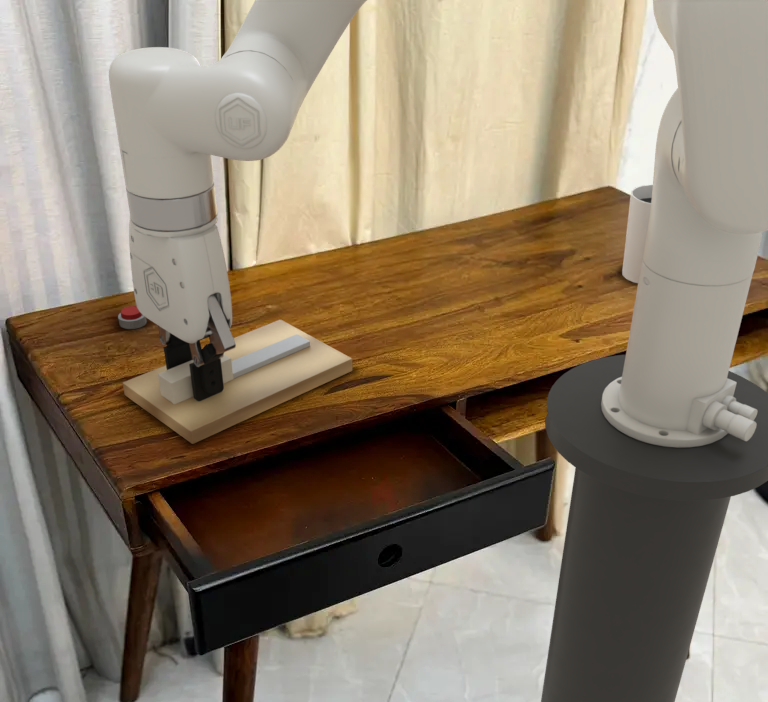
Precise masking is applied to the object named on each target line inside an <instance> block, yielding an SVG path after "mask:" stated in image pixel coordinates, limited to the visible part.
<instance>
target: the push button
mask: <svg viewBox="0 0 768 702" xmlns="http://www.w3.org/2000/svg"><path fill="white" fill-rule="evenodd" d="M117 320H118V324H119V327H120V328H122V329H125V330H134V329H140V328H142V327H144V326H146V324H147V322H148V321H147V318H146V317H145V316H144V315H142V314H141V313H140V311H139V310H138V308H137V306H136V305H129V306H125V307H123V308H121V310H120V312H119V314H118V315H117Z"/></svg>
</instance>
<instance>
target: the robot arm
mask: <svg viewBox="0 0 768 702" xmlns="http://www.w3.org/2000/svg"><path fill="white" fill-rule="evenodd" d="M367 1H368V0H254V1H253V4H252V5H251V7H250V9H249V11H248V13H247V14H246V17H245V18H244V20H243V22H242V24H241V26H240V27H239V29H238V31H237V33H236V35H235V37H234V38H233V40H232V41H231V43H230V45H229V47H228V49H227V50H226V51H225V52H224V54H223V56H221V58H220V59H219V60H218V61H216V62H213V63H211V64H208V65H201V64H200V61H199V60H198V59H197V57H196V56H194V55H193V54H192V53H190V52H189V51H186V50H184V49H180V48H176V47H168V46H167V47H166V46H163V47H162V46H153V47H152V46H150V47H143V48H142V47H141V48H135V49H130V50H127V51H125V52H122V53H120V54H118V55H116V57H114V58H113V59H112V60H111V63H110V66H109V69H108V82H109V90H110V96H111V102H112V109H113V115H114V121H115V128H116V133H117V141H118V147H119V151H120V152H119V153H120V158H121V165H122V172H123V178H124V184H125V191H126V197H127V203H128V211H129V223H128V242H129V243H128V244H129V258H130V260H129V261H130V269H131V270H130V271H131V278H132V279H131V280H132V286H133V294H134V300H135V306H136V307H137V308H138V310H139V311H140V313H141V314H142V315H144V316H145V317H146V319H148V320H149V321H150V322H152V323H153V324H155V325H157V327H158V338H159V342H160V343H161V345H163V346H164V347H163V354H164V360H165V365H166V368H167V370H169V369H171V368H174V367H176V366H179V365H181V364H184V363H186V362H188V361H191V360H193V363H191V364H189V367H190V374H191V382H192V389H193V397H194V399H196V400H197V401H202V400H204V399H206V398H209V397H211V396H213V395H216V394H218V393H220V392H222V391H223V389H224V385H223V376H222V367H221V358H222V357H223V356H224V352H227V351H229V350H232V349H234V348H235V347H236V344H235V341H234V339H233V338H234V336H233V334H232V332H231V327H232V325H233V304H232V294H231V287H230V281H229V280H230V279H229V274H228V268H227V262H226V258H225V252H224V248H223V244H222V243H223V242H222V239H221V235H220V231H219V227H218V225H216V224H217V223H218V220H219V218H218V206H217V198H216V197H217V196H216V186H215V177H214V168H213V167H214V166H213V157H212V156H214V157H219V158H222V159H223V158H224V159H227V160H228V159H230V160H233V161H242V162H254V161H255V162H257V161H261V160H265V159H268V158H270V157H271V156H274V154H276V153H277V152H278V151H280V150H281V149H282V147H283V146H284V145H285V143H286V142H287V141H288V138H289V137H290V134H291V132H292V129H293V127H294V124H295V122H296V119H297V116H298V114H299V111H300V109H301V107H302V105H303V103H304V101H305V98H307V95H308V94H309V91H310V90H311V88H312V86H313V84H314V83H315V81H316V79H317V78H318V75H319V74H320V72H321V71H322V69H323V67H324V65H325V64H326V62H327V60H328V59H329V57H330V55H331V54H332V52H333V50H334V49H335V47H336V45H337V44H338V42H339V41H340V39H341V37H342V36H343V34H344V32H345V30H346V29H347V28H348V27H349V24H350V23H351V22H352V20H353V18H354V17H355V15H356V14H357V13H358V12H359V10H360V9H361V8H362V7H363V5H364V4H365V3H366V2H367ZM652 8H653V15H654V19H655V22H656V25H657V28H658V30H659V31H658V32H659V33H660V34H661V36H662V38H663V40H664V41H665V42H666V44H667V45H668V46H669V48H670V49H671V51H672V53H673V58H674V64H675V72H676V80H677V81H676V83H677V88H676V90H675V91H674V92H673V94H672V95H671V97H670V98H669V100H668V102H667V104H666V106H665V108H664V110H663V112H662V115H661V118H660V121H659V126H658V129H657V136H656V143H655V154H654V165H653V167H654V168H653V177H652V178H653V179H652V185H653V190H652V200H651V208H650V216H649V222H648V229H647V235H646V241H645V247H644V253H643V258H642V264H641V270H640V275H639V281H638V283H637V288H636V294H635V299H634V305H633V310H632V318H631V322H630V328H629V335H628V340H627V346H626V352H625V355H626V357H625V363H624V369H623V374H622V377H620V378H617V379H616V380H614V381H613V382H611V383H610V384H609V385H608V386H607V387H606V388H605V390H604V392H603V395H602V401H601V408H602V412H603V414H604V416H605V418H606V419H607V420H608V421H609V423H610V424H611V425H613V426H614V427H615V428H616V429H618V430H619V431H621V432H622V433H624V434H626V435H627V436H630V437H632V438H634V439H637V440H639V441H642V442H646V443H649V444H653V445H658V446H664V447H674V448H690V447H697V446H703V445H707V444H710V443H713V442H715V441H717V440H719V439H721V438H723V437H724V436H725V435H727V434H728V433H729V434H731V435H733V436H735V437H737V438H740V439H742V440H744V441H748V440H749V439H750V438H751V437H752V435H753V434H754V432H755V429H756V425H757V424H756V422H754V419H755V418H756V416H757V412H758V411H757V409H754V408H752V407H750V406H747V405H745V404H744V405H743V404H741V403H739V402H737V401H736V398H735V397H733V395H734V391H735V387H736V384H737V382H735V381H733V380H730V379H728V378H727V376H728V372H729V371H730V367H731V365H732V359H733V355H734V351H735V347H736V343H737V339H738V336H739V331H740V328H741V323H742V319H743V315H744V312H745V307H746V304H747V303H746V302H747V299H748V296H749V290H750V288H751V287H750V286H751V283H752V278H753V274H754V271H755V268H756V264H757V261H758V260H757V259H758V257H759V256H758V255H759V252H760V247H761V242H762V238H763V233H764V232H768V0H652ZM204 339H208V340H209V343H207V344H205V345H204V346H203V347H202V343H201V341H202V340H204Z"/></svg>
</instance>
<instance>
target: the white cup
mask: <svg viewBox="0 0 768 702" xmlns="http://www.w3.org/2000/svg"><path fill="white" fill-rule="evenodd" d="M652 190H653V184H643V185H639V186H636V187H634V188H633V189H632V190H631V191H630V198H629V208H628V216H627V223H626V224H627V225H626V233H625V234H626V236H625V244H624V251H623V252H624V253H623V260H622V261H623V263H622V270H621V274H622V276H623V278H624V279H626V280H627V281H630V282H632V283H633V284H638V281H639V275H640V270H641V264H642V258H643V253H644V247H645V241H646V235H647V229H648V222H649V216H650V208H651V200H652Z"/></svg>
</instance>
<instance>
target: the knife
mask: <svg viewBox="0 0 768 702" xmlns="http://www.w3.org/2000/svg"><path fill="white" fill-rule="evenodd" d="M309 346H310V341H309V340H307V339H305V338H303V337H301V336H300V335H298V334H296V335H294V336H291V337H289V338H286V339H284V340H282V341H279V342H277V343H274V344H272V345H270V346H267V347H265V348H262V349H260V350H257V351H255V352H253V353H250V354H248V355H245V356H243V357H241V358H238V359H236V360H233V361H232V360H231V358H230V357H228V356H226V355H225V354H224V356H223V357H222V358H221V367H222V376H223V384H224V383H226V382H228V381H231V380H233V379H234V378H236V377H239V376H241V375H243V374H246V373H248V372H250V371H253V370H255V369H257V368H260V367H262V366H264V365H267V364H269V363H271V362H274V361H276V360H278V359H281V358H283V357H285V356H288V355H290V354H293V353H295V352H297V351H300V350H302V349H304V348H307V347H309ZM191 363H193V360H191V361H188V362H186V363H184V364H181V365H179V366H176V367H174V368H171V369H169V370H166V371H164V372H161V373H159V374H158V379H159V385H160V391H161V395H162V396H163V397H165V398H166V399H167V400H169V401H170V402H172V403H173V404H177V403H179V402H182V401H184V400H186V399H189V398H191V397H193V389H192V382H191V374H190V367H189V364H191Z"/></svg>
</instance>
